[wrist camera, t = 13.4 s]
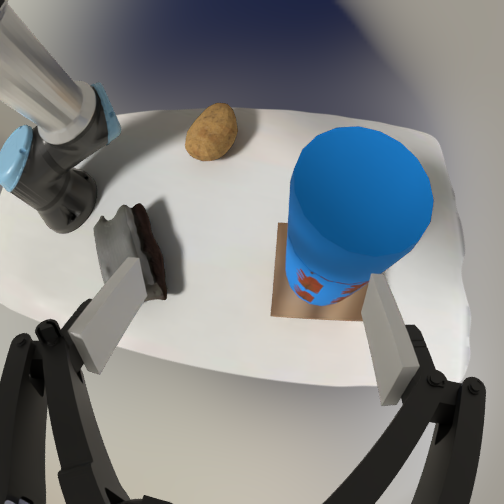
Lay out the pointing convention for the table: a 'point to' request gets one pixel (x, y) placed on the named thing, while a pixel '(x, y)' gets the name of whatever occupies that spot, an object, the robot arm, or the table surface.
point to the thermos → (352, 212)
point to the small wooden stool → (295, 307)
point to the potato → (212, 133)
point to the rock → (131, 248)
